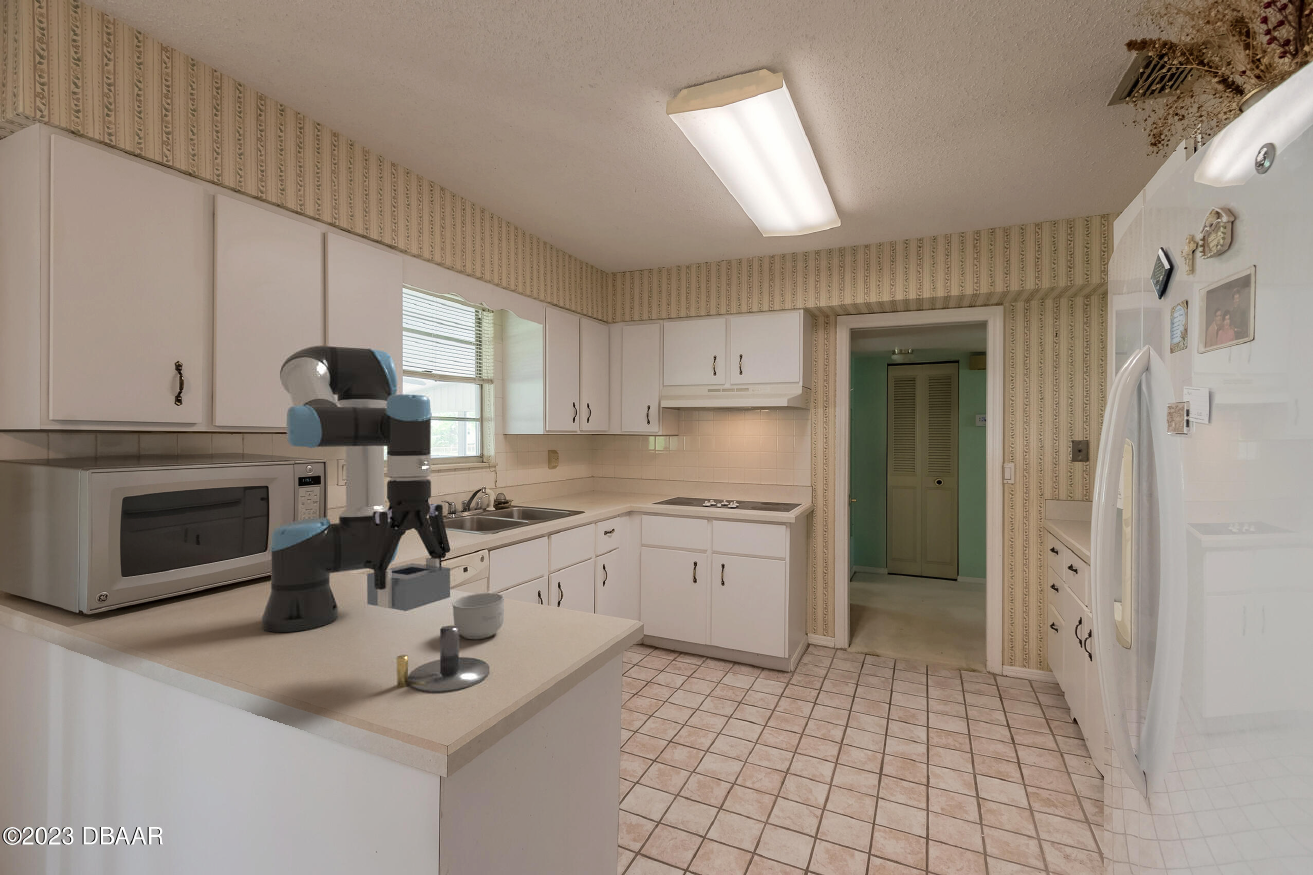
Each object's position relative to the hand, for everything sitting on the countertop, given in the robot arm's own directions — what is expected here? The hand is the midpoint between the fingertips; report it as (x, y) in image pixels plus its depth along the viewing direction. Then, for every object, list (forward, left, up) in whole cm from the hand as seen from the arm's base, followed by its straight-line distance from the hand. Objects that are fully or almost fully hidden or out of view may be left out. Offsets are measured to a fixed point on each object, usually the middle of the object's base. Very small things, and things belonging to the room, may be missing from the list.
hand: (409, 599), depth 109 cm
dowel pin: (+3, -5, -14) cm, 15 cm away
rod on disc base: (+8, +2, -14) cm, 16 cm away
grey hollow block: (-3, 0, 0) cm, 3 cm away
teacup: (-3, +23, -14) cm, 27 cm away
